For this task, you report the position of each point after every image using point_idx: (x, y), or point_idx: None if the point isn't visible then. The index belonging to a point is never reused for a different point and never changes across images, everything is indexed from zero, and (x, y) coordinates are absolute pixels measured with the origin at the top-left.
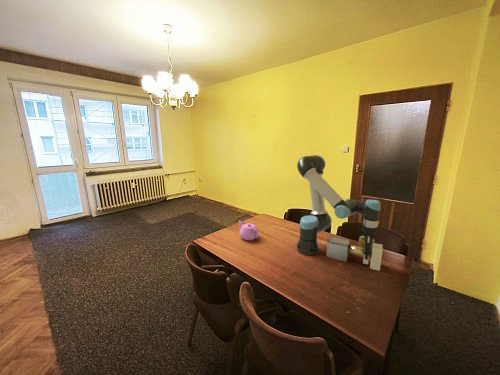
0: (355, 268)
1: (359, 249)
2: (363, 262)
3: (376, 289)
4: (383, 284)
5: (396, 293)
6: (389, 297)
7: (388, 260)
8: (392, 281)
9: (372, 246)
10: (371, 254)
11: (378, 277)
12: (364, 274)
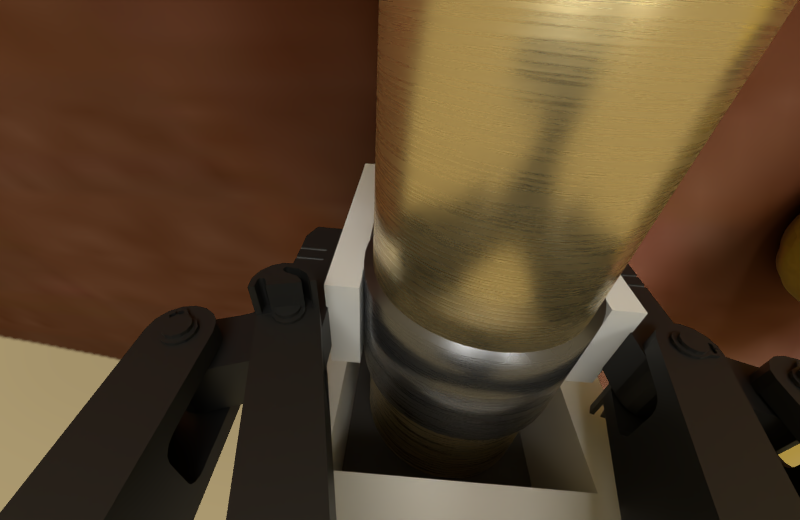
0: (210, 34)
1: (433, 197)
2: (363, 176)
3: (9, 253)
4: (146, 302)
5: (115, 350)
6: (16, 315)
7: None
8: None
9: (614, 508)
10: (373, 383)
11: (223, 282)
12: (159, 164)
